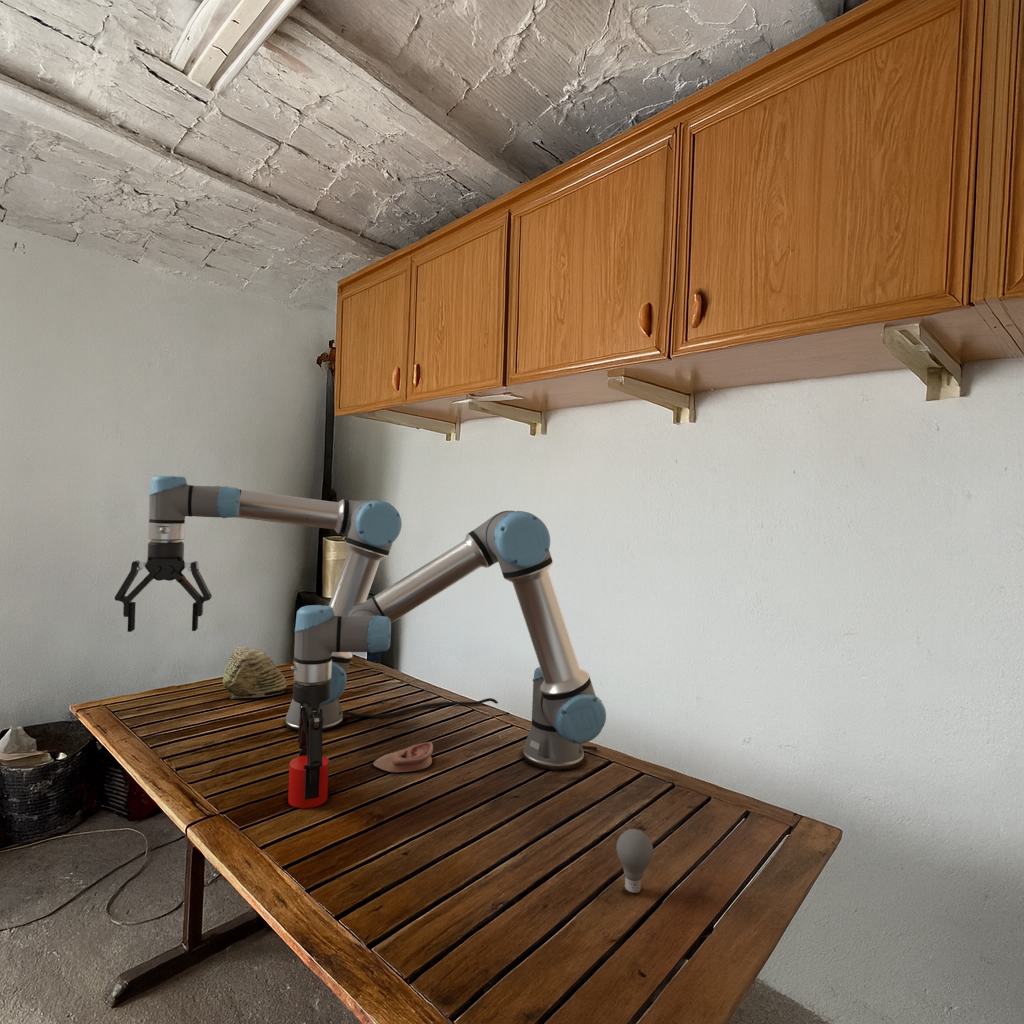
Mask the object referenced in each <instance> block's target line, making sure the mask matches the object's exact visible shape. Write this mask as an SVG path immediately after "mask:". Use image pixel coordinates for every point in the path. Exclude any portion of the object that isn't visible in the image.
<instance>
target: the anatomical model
mask: <svg viewBox="0 0 1024 1024" xmlns="http://www.w3.org/2000/svg"><path fill="white" fill-rule="evenodd" d="M433 751H434V744H433V743H432V742H430V741H426V742H422V743H418V744H414V745H411V746H408V747H406V748H403V749H401V750H397V751H394V752H390V753H387V754H385V755H382V756H381V757H378V758H377V759H375V760H374V762H373V763H372V764H373V766H374V767H375V768H378V769H380V770H382V771H385V772H388V773H408V772H416V771H420V770H424V769H426V768H428V767H430V766H431V765H432V763H433V758H432V756H431V755H432V754H433Z"/></svg>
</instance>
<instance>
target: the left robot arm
mask: <svg viewBox="0 0 1024 1024" xmlns="http://www.w3.org/2000/svg"><path fill="white" fill-rule="evenodd" d="M149 486H150V488H149V494H148V497H149V500H148V532H147V534H148V536H147V539H148V540H150V541H148V543H147V559H146V561H141V560H138V559H137V560H135V561H131V566H130V571H129V573H128V574H127V575H126V577H125V579H124V580H123V583H122V584H121V586H120V587H119V589H118V591H117V593H116V594H115V596H114V600H115V601H117V602H121V603H122V604H123V608H122V609H123V611H122V612H123V613H122V615H123V617H124V618H127V633H128V632H129V633H131V632H134V630H136V603H137V602H136V601H133V600H134V599H135V598H136V597H137V596H139V594H140V593H141V592H142V591H143V590H144V589H145V588H146V587H147V586H148V585H149V584H150V583H151V582H152V581H153V580H156V581H157V582H158V581H169V582H170V581H172V582H173V581H174V580H175V581H176V582H177V583H179V585H180V586H181V587H182V588H183V589H184V590H185V592H187V594H188V595H189V596H190V597H191V598H192V599H193V600H194V601H195V602H193V603H192V615H191V617H192V618H191V622H192V623H191V632H196V631H197V630H198V629H199V628H198V627H199V617H202V616H203V614H204V603H206V602H208V601H210V600H211V599H212V597H213V595H212V593H211V591H210V589H209V587H208V585H207V583H206V582H205V579H204V578H203V576H202V574H201V572H200V568H199V562H198V561H197V560H194V561H192V562H191V561H190V562H185V559H184V556H185V543H184V541H183V540H185V531H186V530H185V529H186V523H185V522H186V517H197V518H221V519H228V518H229V519H231V518H238V519H245V520H246V519H247V520H254V521H261V522H262V521H263V522H269V523H270V522H271V523H281V524H287V525H294V526H295V525H296V526H303V527H313V528H319V529H320V528H321V529H328V530H334V531H335V532H336V533H337V534H339V535H340V534H341V535H347V537H346V539H345V542H344V545H346V547H347V554H346V557H345V559H344V562H343V565H342V568H341V570H340V573H339V576H338V579H337V582H336V583H335V587H334V589H333V592H332V596H331V598H330V601H329V604H328V606H330V607H332V608H333V610H334V616H347V613H348V612H349V611H350V609H351V608H352V607H353V606H355V605H356V604H359V603H364V602H365V601H367V600H368V596H369V593H370V590H371V589H372V585H373V582H374V579H375V577H376V574H377V571H378V568H379V565H380V562H381V561H383V560H384V559H387V558H388V557H389V554H390V552H391V549H392V546H393V543H394V542H395V541H396V540H397V538H398V537H399V535H400V533H401V531H402V526H403V525H402V523H403V522H402V516H401V514H400V512H399V511H398V510H397V509H396V508H395V506H394V505H392V504H391V503H390V502H387V501H385V500H381V499H364V500H351V499H341V500H340V501H332V500H331V501H330V500H322V499H316V498H310V497H309V498H308V497H300V496H293V495H286V494H277V493H270V492H263V491H255V490H247V489H239V488H238V487H232V486H225V485H223V486H220V485H215V486H214V485H191V484H188V483H187V479H186V477H185V476H178V475H177V476H176V475H175V476H174V475H154V476H153V477H152V478H151V480H150V485H149ZM144 568H145V570H146V571H147V572H148V574H147V575H146V576H145V577H144V578H143V579H142V580H141V581H140V582H139V583H138V584H137V585H136V586H135V587H134V588H133V590H131V591H130V593H128V594H127V592H128V591H129V589H130V587H131V586H132V584H133V582H134V581H135V579H136V577H137V576H138V574H139V572H140V571H142V570H143V569H144ZM185 569H187V570H188V572H191V575H192V577H193V579H194V581H195V584H196V585H197V587H198V589H199V591H200V592H201V593H199V591H198V590H197V589H196V588H195V586H193V585H192V584H191V582H190V581H189V580H188V579H187V578H186V576H185V574H184V573H182V572H184V570H185ZM126 594H127V595H126ZM294 653H295V651H294ZM352 659H353V652H332V673H331V678H330V679H329V680H330V682H331V693H330V698H329V699H328V700H327V701H325V702H322V703H320V709H322V714H323V715H322V717H323V719H324V721H323V729H322V732H325V731H329V730H332V729H335V728H337V727H339V726H340V725H342V723H343V722H344V715H345V716H349V717H356V718H367V719H369V718H371V719H372V718H373V719H374V718H375V719H377V718H387V717H394V716H397V715H398V716H399V715H400V714H405V713H408V712H412V711H416V710H420V709H425V708H431V707H438V706H453V705H458V706H459V705H460V706H462V705H463V706H466V705H467V706H474V705H480V704H484V703H487V702H492V703H494V704H499V702H498V700H496V698H492V697H489V698H484V699H481V700H477V701H442V702H441V701H440V702H433V703H426V704H421V705H416V706H413V707H407V708H404V709H401V710H397V711H394V712H388V713H378V714H377V713H376V714H374V713H373V714H371V713H370V714H368V713H367V714H366V713H356V712H352V711H351V712H350V711H344V710H343V709H342V706H341V702H340V699H339V698H340V697H341V696H342V695H343V694H344V692H345V690H346V686H347V681H348V679H347V678H348V677H347V676H348V675H347V673H348V671H349V667H350V665H351V661H352ZM294 682H295V680H294V679H293V683H294ZM299 719H300V703H297V702H295V701H294V700H293V698H292V699H291V702H290V704H289V708H288V711H287V713H286V715H285V726H286V728H287V729H289V730H291V731H294V732H295V731H296V732H299Z"/></svg>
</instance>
